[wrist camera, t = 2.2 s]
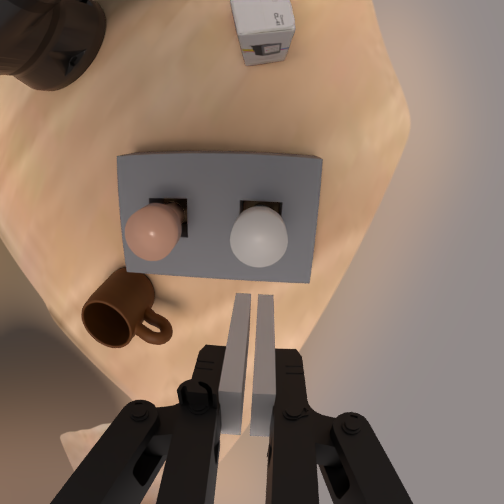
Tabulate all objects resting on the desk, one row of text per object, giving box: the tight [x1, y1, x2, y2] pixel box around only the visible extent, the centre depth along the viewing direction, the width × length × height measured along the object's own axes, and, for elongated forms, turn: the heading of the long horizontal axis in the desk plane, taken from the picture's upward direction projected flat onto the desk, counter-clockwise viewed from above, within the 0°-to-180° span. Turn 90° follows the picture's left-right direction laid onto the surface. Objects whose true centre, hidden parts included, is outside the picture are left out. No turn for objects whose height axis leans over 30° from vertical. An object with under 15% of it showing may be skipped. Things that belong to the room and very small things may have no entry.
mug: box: [82, 268, 173, 348], centre depth 37 cm, size 12×8×9 cm, turn 73°
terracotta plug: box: [125, 201, 185, 261], centre depth 30 cm, size 5×5×8 cm
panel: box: [117, 151, 323, 283], centre depth 34 cm, size 14×22×5 cm, turn 88°
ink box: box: [230, 0, 295, 66], centre depth 22 cm, size 9×5×12 cm, turn 10°
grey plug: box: [230, 204, 288, 267], centre depth 29 cm, size 5×5×8 cm
